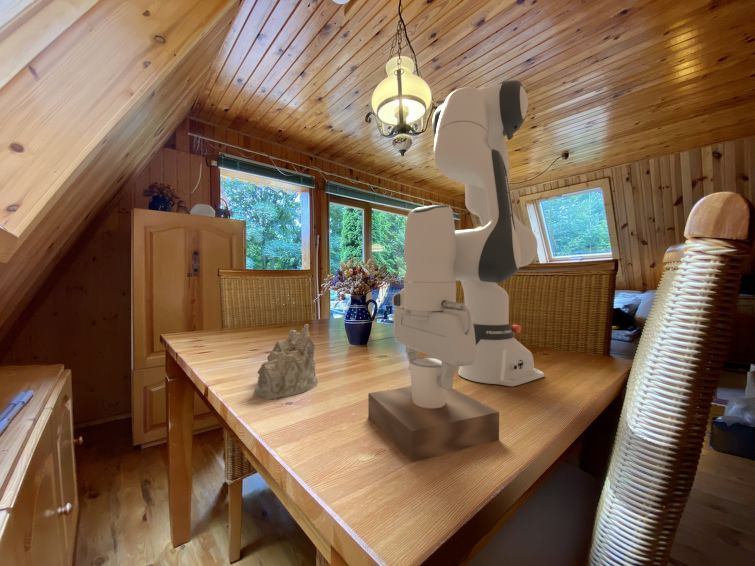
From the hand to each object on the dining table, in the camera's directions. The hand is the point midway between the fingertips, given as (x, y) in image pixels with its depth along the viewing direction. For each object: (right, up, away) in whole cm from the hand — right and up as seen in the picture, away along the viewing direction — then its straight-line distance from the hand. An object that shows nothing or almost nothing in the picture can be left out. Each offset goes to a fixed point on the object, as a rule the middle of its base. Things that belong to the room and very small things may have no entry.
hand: (429, 379), depth 54 cm
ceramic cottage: (-32, -8, +22) cm, 39 cm away
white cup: (0, -4, 0) cm, 4 cm away
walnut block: (0, -9, 0) cm, 9 cm away
